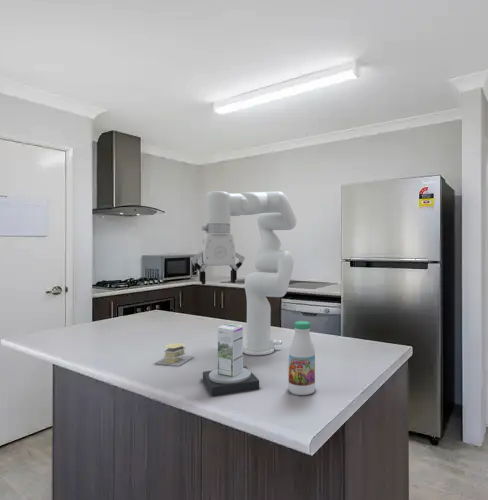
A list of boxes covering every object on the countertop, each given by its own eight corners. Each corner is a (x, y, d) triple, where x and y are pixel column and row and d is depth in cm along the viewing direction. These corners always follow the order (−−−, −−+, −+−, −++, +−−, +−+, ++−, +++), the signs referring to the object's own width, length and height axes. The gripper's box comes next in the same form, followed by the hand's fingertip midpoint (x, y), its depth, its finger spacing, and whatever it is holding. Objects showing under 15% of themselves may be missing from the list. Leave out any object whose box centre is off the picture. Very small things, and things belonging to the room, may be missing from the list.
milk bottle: (287, 385, 111) (288, 319, 110) (313, 385, 111) (313, 319, 111) (289, 396, 103) (290, 325, 103) (316, 395, 104) (317, 324, 103)
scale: (246, 373, 121) (247, 363, 121) (260, 388, 108) (260, 377, 108) (202, 379, 115) (202, 369, 115) (211, 396, 102) (211, 384, 102)
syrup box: (243, 371, 113) (243, 324, 113) (232, 377, 108) (232, 328, 108) (228, 368, 116) (228, 322, 115) (216, 374, 110) (217, 326, 110)
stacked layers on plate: (179, 365, 128) (179, 350, 128) (155, 364, 130) (156, 348, 130) (192, 357, 138) (192, 342, 138) (170, 355, 140) (171, 341, 139)
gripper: (192, 229, 111) (193, 285, 111) (247, 230, 118) (247, 283, 119) (188, 230, 117) (188, 283, 118) (240, 230, 125) (240, 280, 125)
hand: (218, 283), depth 118 cm, fingers open, 9 cm apart
